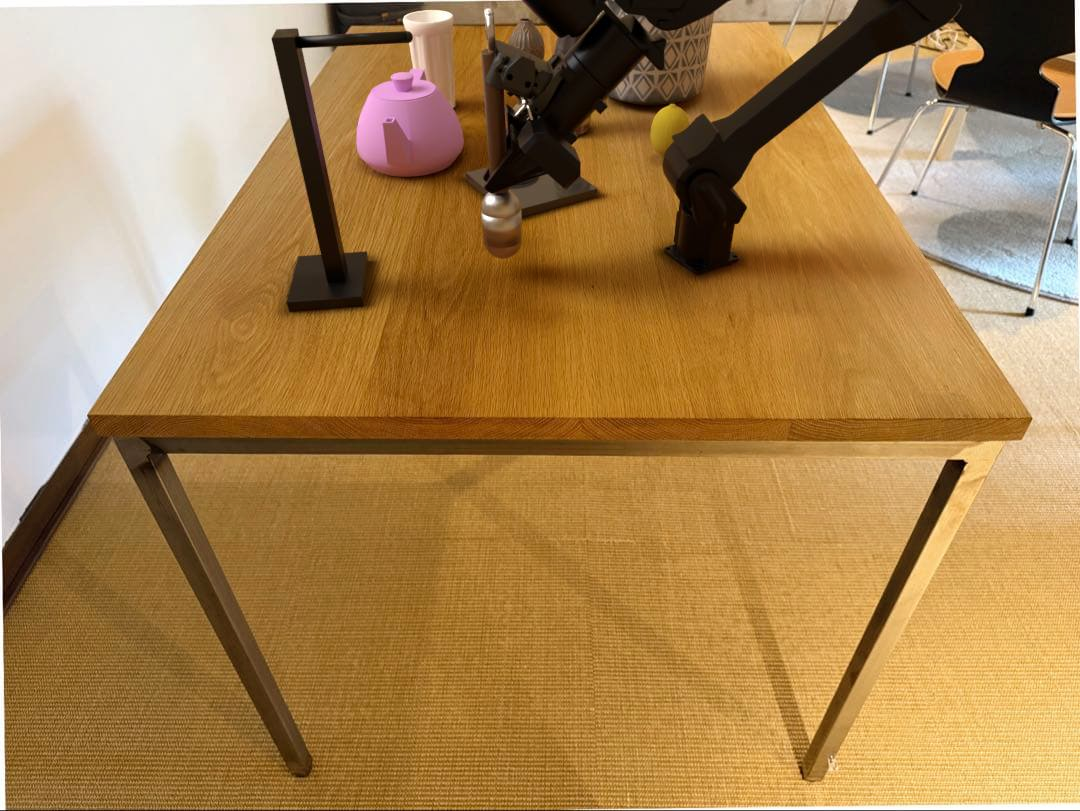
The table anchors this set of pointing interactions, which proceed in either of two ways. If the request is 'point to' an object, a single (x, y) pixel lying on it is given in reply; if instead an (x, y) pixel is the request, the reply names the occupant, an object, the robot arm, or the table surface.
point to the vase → (528, 38)
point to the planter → (668, 65)
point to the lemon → (667, 127)
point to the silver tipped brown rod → (503, 205)
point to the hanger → (320, 178)
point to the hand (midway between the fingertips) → (486, 185)
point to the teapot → (408, 127)
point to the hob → (539, 192)
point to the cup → (433, 48)
